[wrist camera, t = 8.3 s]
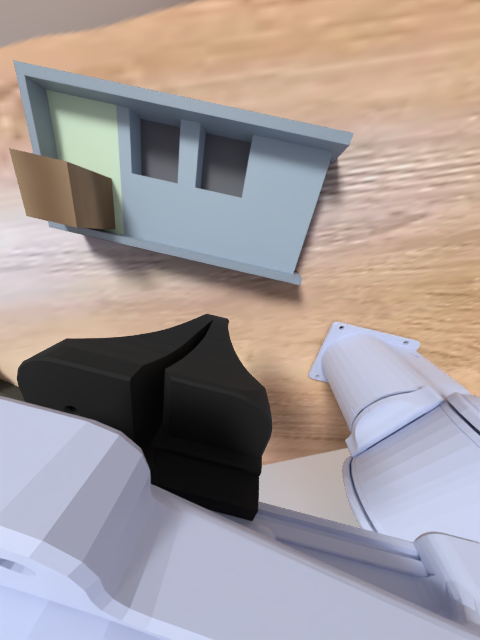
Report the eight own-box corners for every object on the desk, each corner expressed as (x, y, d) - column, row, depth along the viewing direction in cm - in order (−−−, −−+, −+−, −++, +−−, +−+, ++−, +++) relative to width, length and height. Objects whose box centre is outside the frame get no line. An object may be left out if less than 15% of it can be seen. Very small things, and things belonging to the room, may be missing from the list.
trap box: (336, 152, 15) (353, 133, 12) (294, 278, 19) (299, 285, 16) (58, 91, 15) (13, 60, 12) (79, 228, 19) (49, 226, 17)
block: (111, 178, 16) (66, 161, 12) (115, 229, 18) (76, 227, 14) (67, 168, 16) (9, 148, 12) (75, 220, 18) (26, 215, 14)
